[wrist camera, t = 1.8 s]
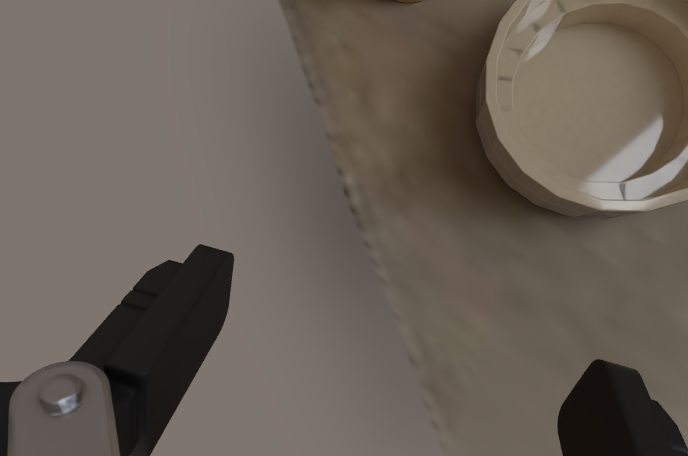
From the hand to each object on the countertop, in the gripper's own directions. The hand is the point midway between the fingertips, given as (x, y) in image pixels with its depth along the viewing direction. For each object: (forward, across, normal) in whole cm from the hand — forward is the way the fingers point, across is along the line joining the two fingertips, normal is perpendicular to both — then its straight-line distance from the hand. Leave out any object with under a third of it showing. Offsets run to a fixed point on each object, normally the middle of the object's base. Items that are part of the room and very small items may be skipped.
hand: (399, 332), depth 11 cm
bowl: (+26, -10, 0) cm, 28 cm away
